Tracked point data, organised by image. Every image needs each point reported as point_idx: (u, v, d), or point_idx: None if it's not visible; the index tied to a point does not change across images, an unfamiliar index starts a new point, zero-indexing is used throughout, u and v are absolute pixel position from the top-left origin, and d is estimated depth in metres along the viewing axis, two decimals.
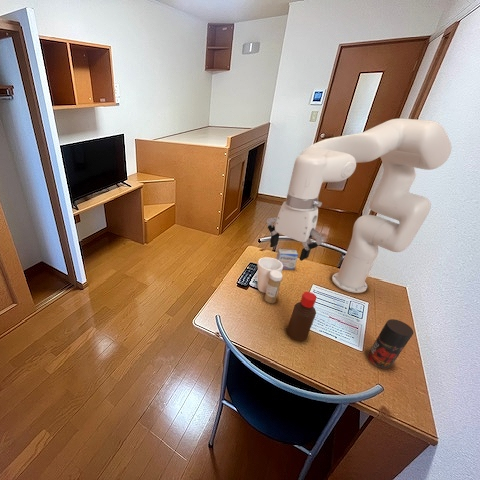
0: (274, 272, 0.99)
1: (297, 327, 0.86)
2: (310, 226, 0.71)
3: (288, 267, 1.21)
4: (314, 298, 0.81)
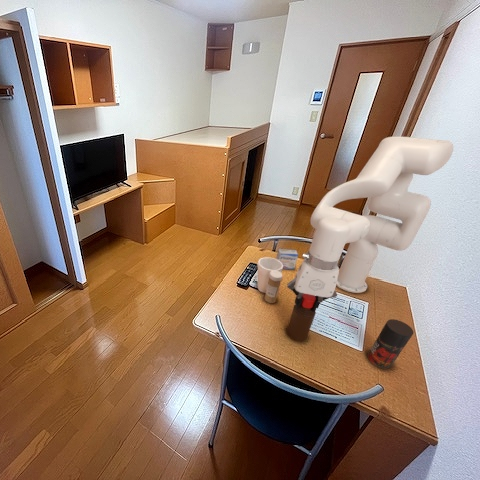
0: (274, 272, 0.99)
1: (297, 328, 0.85)
2: (298, 270, 0.79)
3: (288, 267, 1.21)
4: None
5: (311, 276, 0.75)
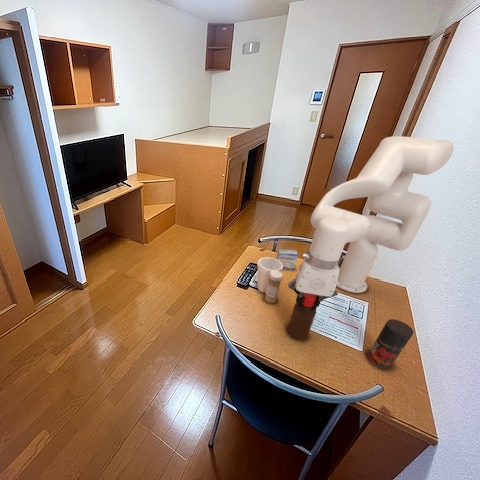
0: (274, 272, 0.99)
1: (297, 326, 0.86)
2: None
3: (288, 267, 1.21)
4: None
5: (311, 276, 0.75)
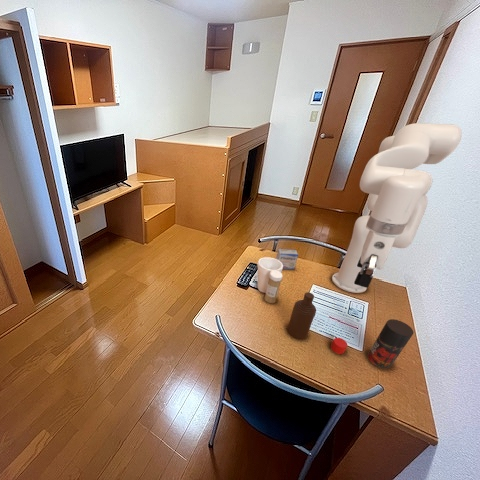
0: (274, 272, 0.99)
1: (298, 325, 0.86)
2: (369, 249, 0.68)
3: (288, 267, 1.21)
4: (337, 338, 0.85)
5: None
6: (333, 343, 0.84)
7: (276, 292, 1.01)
